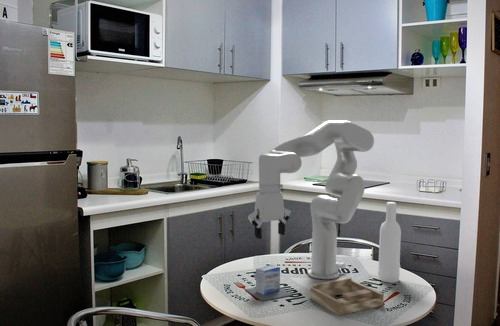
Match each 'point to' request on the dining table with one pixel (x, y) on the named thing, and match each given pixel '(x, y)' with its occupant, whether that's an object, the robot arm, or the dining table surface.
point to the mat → (271, 296)
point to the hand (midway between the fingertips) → (270, 236)
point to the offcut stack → (356, 297)
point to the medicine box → (267, 279)
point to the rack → (327, 289)
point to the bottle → (389, 246)
